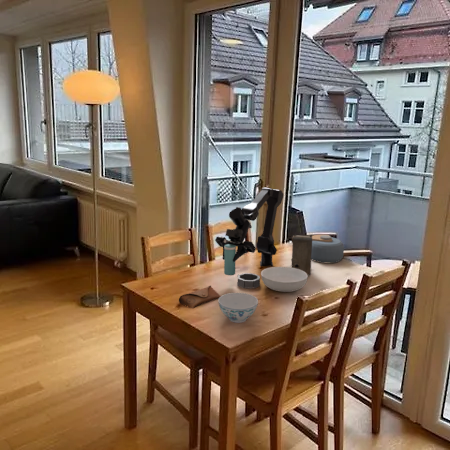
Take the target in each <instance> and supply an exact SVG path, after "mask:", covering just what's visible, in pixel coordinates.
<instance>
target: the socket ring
mask: <svg viewBox="0 0 450 450" xmlns="http://www.w3.org/2000/svg"><path fill="white" fill-rule="evenodd" d="M260 276H261V275H259V274H256V273H251V272H250V273H248V272H243V273H240V274H238V275H237V283H236V285H237V286H238V287H240V288H241V289H256V288H258V287H260V285H261V284H260V281H261V277H260Z"/></svg>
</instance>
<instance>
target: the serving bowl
mask: <svg viewBox="0 0 450 450" xmlns="http://www.w3.org/2000/svg"><path fill="white" fill-rule="evenodd" d="M291 267H292V266H291ZM291 267H290V266H289V267H288V266H270V267H267V268H264V269H262V270H261V272H260V276H261V277H260V279H261V281H262V282H263V284H264V285H265V286H266V287H267V288H269V289H271V290H273V291H277V292H284V293H287V292H295V291H298V290H301V289H302V288H303V287H304V286H305V285H306V284H307V281H308V278H309V277H308V276H309V275H307V273H306V272H304V271H302V270H300V269H296V268H291Z"/></svg>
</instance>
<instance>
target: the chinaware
mask: <svg viewBox="0 0 450 450" xmlns="http://www.w3.org/2000/svg"><path fill="white" fill-rule="evenodd" d="M220 296H221V297H220V298H218V299H217V301H218V305H219V309H220V310H221V312H222V314H223V315H224V316H226V317H227V318H228V320H229V321H230V322H232V323H234V324H235V323H237V324H238V323H239V324H240V323H245V322H246V321H247V319H249V318H250V317H251V316H252V315H253V314H254V313H255V311H256V310H257V307H258V304H259V300H258V298H257V297H256V296H255V295H252V294H250V293H246V292H245V293H244V292H229V293H225V294H222V295H220Z"/></svg>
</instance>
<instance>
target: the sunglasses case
mask: <svg viewBox="0 0 450 450" xmlns="http://www.w3.org/2000/svg"><path fill="white" fill-rule="evenodd" d="M221 296H222V295H220V294H219V293H218V292H217V291H216V290H215V289H214V288H213V287H212V285H209V286H206V287H204V288H203V287H202V288H200V289H198V290H197V289H196V290H194V291H192V292H189V293H185V294H182V295H180V296H179V298H178V302H179V304H180V303H181V304H180V305H182V304H183V305H182V306H185V305H186V306H185V307H187V306H188V308H190V309H194V308H196V307H199V306H201V305H203V304H206V303H210V302H211V301H215V300H218V299H219V298H220V297H221Z"/></svg>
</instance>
